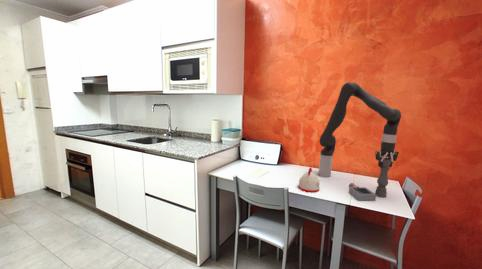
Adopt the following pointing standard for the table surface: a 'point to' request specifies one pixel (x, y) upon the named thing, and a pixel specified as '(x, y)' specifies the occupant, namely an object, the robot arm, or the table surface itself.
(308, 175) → the beige red dome
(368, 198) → the grey tray
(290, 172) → the table surface
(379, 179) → the candle holder
